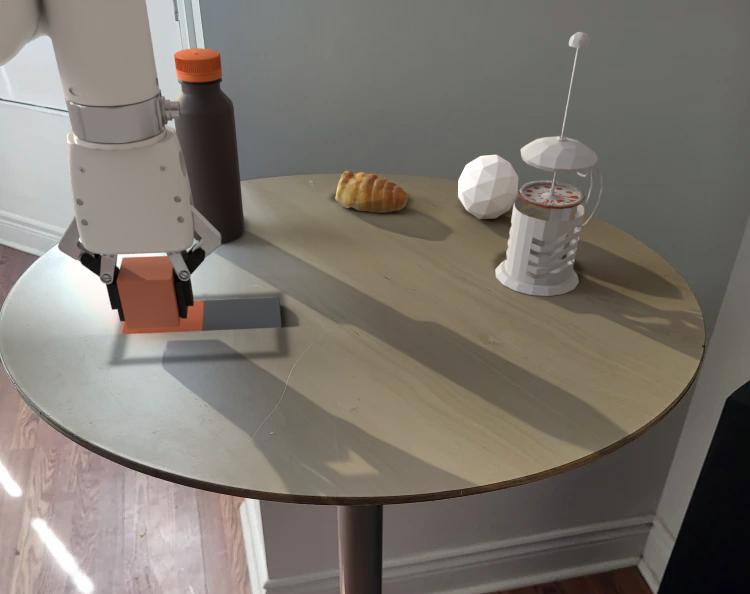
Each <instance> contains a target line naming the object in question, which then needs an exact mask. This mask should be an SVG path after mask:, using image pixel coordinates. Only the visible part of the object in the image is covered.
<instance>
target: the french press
mask: <svg viewBox="0 0 750 594" xmlns="http://www.w3.org/2000/svg"><path fill="white" fill-rule="evenodd" d="M589 45H590V37H589V36H588V34H587V33H586V32H583V31H577V32H575V33H574V34H573V35H571V36H570V38H569V41H568V46H569V47H571V48H576V51H575V56H574V63H573V69H572V74H571V79H570V84H569V90H568V97H567V102H566V107H565V112H564V118H563V124H562V129H561V134H560V135H557V136H544V137H540V138H536V139H534V140H533V141H531V142H529V143H528V144H525V145H524V146H522V147H521V148H520V156H521V159H522V161H524V162H525V163H526V164H527V165H528V166H531V167H533V168H536V169H538V170H543V171H547V172H551V173H554V175H553V180H549V179H548V180H545V179H544V180H536V181H535V180H534V181H530V182H526V183H523V185H521V187H520V188H518V194H519V197H518V198H516V199H515V200H514V202H513V205H512V214H511V219H510V223H511V226H510V227H509V237H508V240H507V248H506V253H505V256H506V257H505V259H504V260H503V261H501V262H500V264H499V265H498V266H497V267H496V268H495V271H494V272H495V278H496V279H497V280H498V281H499V283H501V285H503V286H504V287H507V288H509V289H511V290H513V291H514V292H517V293H522V294H525V295H530V296H542V297H553V296H558V295H564V294H567V293H569V292H572V291H573V290H575V289H576V287H577V286H578V284H579V283H580V280H579V275H578V273H577V272H576V271H575V269H574V265H575V260H576V254H577V250H578V247H579V246H578V245H579V241H580V237H581V232H582V229H583V228H584V227H585V226H586V225H588V223H589V222H590V221H591V220H592V219H593V217H594V216H595V214H596V212H597V210H598V208H599V206H600V203H601V201H602V195H603V191H604V178H603V173H602V171H601V170H600V168H599V167H598V166H596V163H598V161H599V159H598V156H597V153H596V152H595V151H593V149H591V148H590V147H588V146H587V145H585V144H584V143H583V142H581V141H579V140H577V139H573V138H571V137H566V136H564V133H565V128H566V123H567V117H568V112H569V106H570V102H571V101H570V100H571V96H572V90H573V85H574V78H575V73H576V68H577V62H578V57H579V53H580V49H586V48H589ZM593 169H595V170H596V172H597V173H598V174H599V175H598V176H599V179H600V191H599V195H598V198H597V202H596V205H595V207H594V208H593V211H592V213H591V215H590V216H589V217H588V218H587V220H586V221H585V222H584V223H583V221H584V217H585V214H586V213H585V212H586V210H585V209H586V208H587V206H588V203H589V201H590V199H591V196H592V193H593V187H594V171H593ZM585 171H586V173H585V174H583V173H582V172H585ZM557 173H561V174H573V173H576V174H577V176H579V177H582V178H587V177H588V175H589V173H590V187H589V190H588V195H587V198H586V196H585V193H584V192H583V191H582V190H581V189H580V188H578V187H577V186H575V185H572V184H569V183H567V182H565V183H564V182H563V181H562V182H561V181H558V180H557V181H556V179H557ZM585 199H586V201H585V203H584V205H582V203H583V202H584V200H585ZM528 205H532V206H534V207H531V208H528V209H526V210H523V211H521V210H522V209H523V208H524V207H525V206H528ZM537 207H539V208H537ZM575 207H576V211H575V216H574V218H573V219H571V216H572V215H571V214H572V210H573V208H575ZM541 208H544V209H541ZM545 209H549V210H550V212H549V211H547V210H545ZM530 215H538V216H542V217H544V218H545V219H548V220H544V219H540V218H535V217H532V216H530ZM569 232H571V235H569V236H567V235H568V233H569ZM534 239H536V240H534ZM537 240H538V241H537ZM542 242H544V243H542ZM568 243H569V244H568ZM567 244H568V246H567V247H566V248H565V245H567ZM565 255H566V257H565V258H563V256H565Z"/></svg>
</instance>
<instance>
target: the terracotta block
mask: <svg viewBox="0 0 750 594" xmlns="http://www.w3.org/2000/svg"><path fill="white" fill-rule="evenodd" d="M121 258H122V259H121V262H120V266H119V269H120V270H119V274H118V278H117V286H118V290H119V295H120V299H121V304H122V308H123V313H124V317H125V322H126V326H127V329H143V328H164V327H180V318H181V317H179V311H178V305H177V299H176V293H175V287H174V278H175V270H174V268H173V266H172V264H171V262H170V260H169V257H168V255H161V256H160V255H157V256H155V255H154V256H153V255H152V256H131V257H130V256H129V257H121Z"/></svg>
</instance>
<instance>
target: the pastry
mask: <svg viewBox="0 0 750 594" xmlns="http://www.w3.org/2000/svg"><path fill="white" fill-rule="evenodd" d="M408 197H409V194H408V192H407V191H405V189H404V188H402V187H401V186H400V185H398V184H396V183H395V182H392V181H389V180H388V179H387V178H383V177H379V176H378V175H377V174H376V173H369V174H368V173H366V172H365V171H360V172H357V173H355V172H353V171H351V170H345V171H344V172H343V173H342V174H341V177H340V179H339V180H338V184H337V188H336V193H335V197H334V199H335V201H336V202H337V203H338V204H340V205H341V207H343V208H345V209H349V208H353V209H355V210H356V211H360V212H370V213H372V214H374V213H377V214H380V213H381V214H387V213H391V212H399V211H401V210H402V209H404V208H405V206H406V205H407V202H408Z"/></svg>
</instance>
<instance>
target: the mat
mask: <svg viewBox="0 0 750 594" xmlns="http://www.w3.org/2000/svg"><path fill="white" fill-rule="evenodd" d="M278 328H279V329H280V328H283V325H282V314H281V301H280V297H253V298H252V297H251V298H229V299H227V298H226V299H205V300H204V299H203V300H201V299H200V300H199V299H198V300H194V305H193V306H188V313H187V319H181V318H180V327H164V328H143V329H127V326H126V322H125V321H123V325H122V329H121V335H140V334H142V335H143V334H163V333H185V332H209V331H230V330H231V331H233V330H254V329H255V330H256V329H278Z"/></svg>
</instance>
